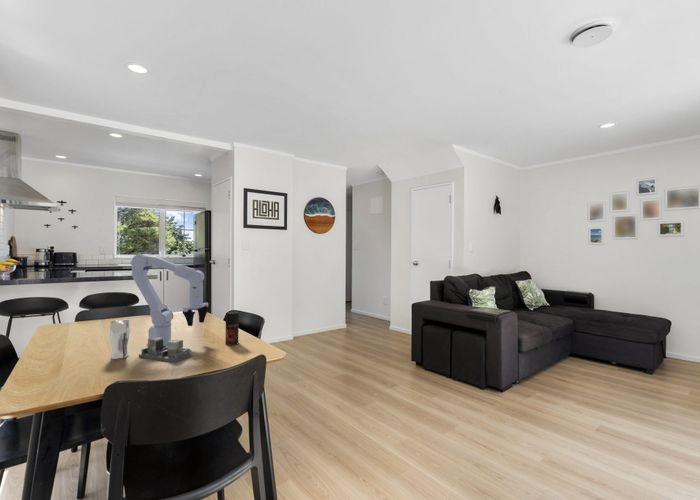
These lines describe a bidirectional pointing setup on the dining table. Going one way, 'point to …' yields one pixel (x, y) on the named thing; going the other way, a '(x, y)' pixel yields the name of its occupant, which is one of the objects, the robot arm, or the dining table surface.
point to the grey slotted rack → (162, 351)
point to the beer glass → (119, 338)
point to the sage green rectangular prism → (174, 347)
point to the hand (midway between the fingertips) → (195, 324)
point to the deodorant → (232, 328)
